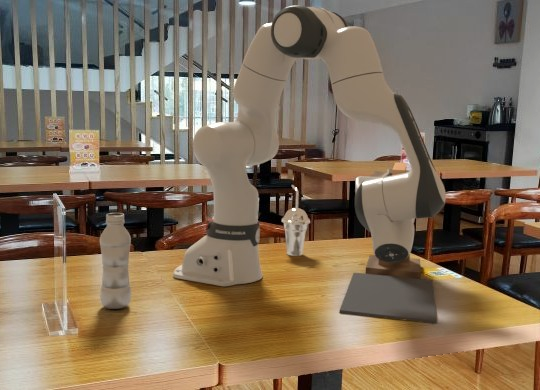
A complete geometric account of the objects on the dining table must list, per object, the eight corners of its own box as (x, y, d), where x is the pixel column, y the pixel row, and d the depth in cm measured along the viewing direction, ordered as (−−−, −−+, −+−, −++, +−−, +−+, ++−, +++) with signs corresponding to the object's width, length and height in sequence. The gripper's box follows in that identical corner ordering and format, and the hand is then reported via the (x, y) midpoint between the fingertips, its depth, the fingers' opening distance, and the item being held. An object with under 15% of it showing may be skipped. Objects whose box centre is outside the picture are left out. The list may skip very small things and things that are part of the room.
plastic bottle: (100, 313, 121) (98, 217, 117) (100, 302, 127) (99, 211, 124) (132, 311, 122) (131, 217, 119) (130, 301, 129) (130, 211, 126)
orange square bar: (391, 182, 141) (392, 169, 141) (394, 173, 160) (395, 162, 160) (404, 182, 141) (405, 170, 140) (405, 173, 160) (406, 162, 159)
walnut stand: (365, 274, 155) (371, 176, 151) (369, 261, 168) (374, 171, 164) (420, 280, 151) (427, 180, 147) (419, 266, 165) (426, 174, 161)
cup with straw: (277, 256, 171) (279, 188, 168) (283, 249, 179) (286, 184, 176) (306, 258, 169) (309, 190, 166) (311, 251, 178) (314, 185, 175)
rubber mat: (339, 312, 126) (339, 310, 125) (353, 274, 154) (353, 272, 154) (436, 323, 121) (436, 320, 121) (432, 282, 150) (432, 280, 150)
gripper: (443, 199, 131) (443, 163, 141) (351, 193, 136) (358, 159, 146) (441, 221, 135) (441, 184, 145) (352, 214, 139) (358, 179, 150)
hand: (399, 172), depth 146 cm, fingers closed on orange square bar, 3 cm apart
